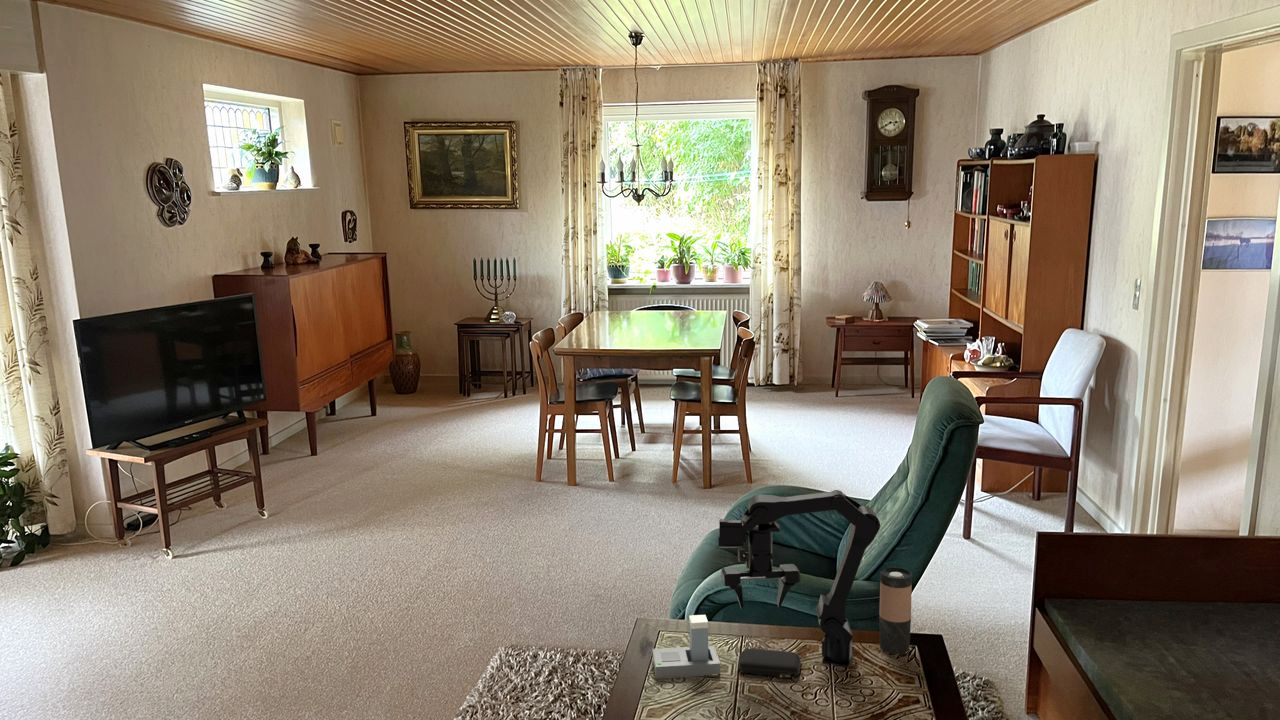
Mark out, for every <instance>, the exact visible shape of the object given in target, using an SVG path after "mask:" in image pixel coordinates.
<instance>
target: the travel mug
mask: <svg viewBox="0 0 1280 720" xmlns="http://www.w3.org/2000/svg"><path fill="white" fill-rule="evenodd" d="M912 576H913V575H912V572H911V571H910V570H908V569H906V568H902V567H896V566H895V567H893V566H891V567H890V566H889V567H886V568H885V569H884V570H882V571H880V581H879V582H880V585H879V586H880V588H879V613H878V614H879V647H880V649H881V651H883V652H884V651H886V652H885V653H887V654H890V653H891V654H890V655H896V654H900V655H904V654H903V653H905V654H907V653H908V652H909V651H910V642H911V626H912V623H911V622H912V594H913V593H912V581H913V579H912V578H913V577H912ZM908 650H909V651H908ZM907 651H908V652H907ZM906 652H907V653H906Z"/></svg>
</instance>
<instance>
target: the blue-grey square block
mask: <svg viewBox="0 0 1280 720" xmlns="http://www.w3.org/2000/svg"><path fill="white" fill-rule="evenodd" d="M688 619H689V629H688V630H689V647H690V661H689V662H698V661H709V660H708V646H709V621H708V619H707V615H706V614H694V615H689V616H688Z"/></svg>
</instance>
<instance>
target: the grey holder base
mask: <svg viewBox="0 0 1280 720" xmlns="http://www.w3.org/2000/svg"><path fill="white" fill-rule="evenodd" d="M708 659H710V660H708V661H698V662H690V646H683V647H682V646H681V647H665V648H664V647H663V648H652V663H653V668H654V669H653V670H654V675H655V679H660V680H661V679H675V678H692V677H705V676H704V675H712V674H720V675H721V661H720V658H719V656H718V652H717V650H716V647H715V645H708Z"/></svg>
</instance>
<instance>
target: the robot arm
mask: <svg viewBox="0 0 1280 720" xmlns="http://www.w3.org/2000/svg"><path fill="white" fill-rule="evenodd" d="M828 511H836V512H838V513H839V514H840V515H841V516H843V517H844V518H845V519H846V520H847V521H848V522H850V525H849V537H848V542H847V544H846V547H845V551H844V553H843V556H842V559H841V562H840V564H839V567H838V570H837V573H836V575H835V577H834V581H833V584H832V586H831V589H830V591H829V592H828V593H827V594H826V595H824V594H822V593H821V594H820V597H819V602H818V604H816V606H815V610H816V611H815V612H816V615H817V620H818V624H819V627H820V630H821V631H822V632H823V633H824V637H823V639H822V640H821V657H823V658H822V660H821V662H822V661H823V662H822V663H826V664H831V665H835V666H841V667H849V666H850V665H851V662H852V660H853V657H854V653H853V637H854V636H853V633H852V630H851V629H852V628H851V627H850V623H849V620H848V619H847V618H846V615H847V614H846V613H847V612H846V611H847V600H848V598H849V595H850V593H851V590H852V587H853V584H854V581H855V578H856V576H857V574H858V570H859V568H860V565H861V562H862V560H863V556H864V554H865V552H866V550H867V548H868V547H869V546H870V545H871V544H872V543H873V541H874V540H875V538H876V537H877V536H878V535H877V534H878V533H879V531H880V528H881V522H880V520H879V517H878V516H877V514H876V512H875V510H874V509H873V508H872V507H870V506H868V505H862V504H861V503H859V502H858V501H857V500H855V499H853V498H851V497H849V496H848V495H846V494H845V493H844V492H843V491H842V490H840V489H839V490H838V489H834V490H831V491H824V492H817V493H808V494H799V495H792V496H779V495H778V496H777V495H775V494H756V495H754V496H752V498H750V499H749V501H748V507H747V509H746V510H745V511H744V513H743V514H742V515H741V516H740V519H725V518H720V519H719V523H718V524H719V526H718V527H719V529H718V548H722V549H723V548H725V549H726V548H732V549H736V548H737V561H738V563H745V566H746V569H747V570H743V571H740V570H739V569H738V566H726V567H725V566H724V567H722V568H721V571H720V578H721V580H722V583H723V585H724V586H725V587H729V588H728V589H730V590H734V592H735V594H736V598H737V601H738V603H739V607H740V609H741V610H744V597H743V595H744V594H743V587H742V581H741V580H757V579H758V580H760V579H762V580H763V579H776V578H778V590H777V601H776V602H777V603H776V604H777V608H781V606H782V605H783V602H784V600H785V598H786V596H787V594H788V593H789V591H790V589H791V588H792V587H795V586H796V584H799V583H801V572H800V570H799V568H798V567H797V566H796V565H795V564H794V563H787V564H785V563H784V564H779V569H773V560H774V559H773V557H774V556H773V533H779V532H781V527H780V524H779V523H777V522H776V521H778V520H781V519H783V518H784V517H787V516H796V515H803V514H805V515H806V514H811V513H814V514H815V513H822V512H828ZM747 532H748V549H746V548H742V547H744V544H747ZM747 550H748V551H747Z"/></svg>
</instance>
